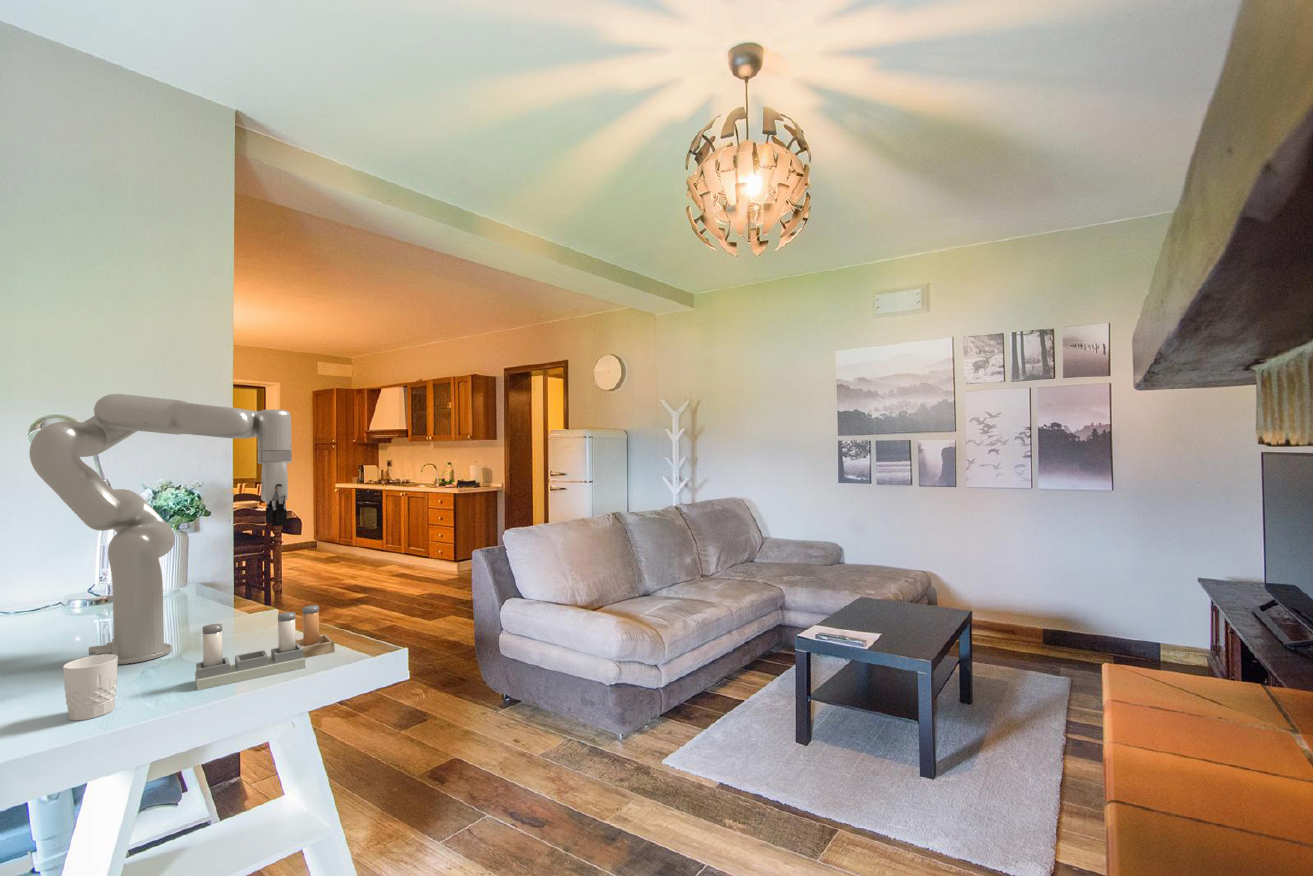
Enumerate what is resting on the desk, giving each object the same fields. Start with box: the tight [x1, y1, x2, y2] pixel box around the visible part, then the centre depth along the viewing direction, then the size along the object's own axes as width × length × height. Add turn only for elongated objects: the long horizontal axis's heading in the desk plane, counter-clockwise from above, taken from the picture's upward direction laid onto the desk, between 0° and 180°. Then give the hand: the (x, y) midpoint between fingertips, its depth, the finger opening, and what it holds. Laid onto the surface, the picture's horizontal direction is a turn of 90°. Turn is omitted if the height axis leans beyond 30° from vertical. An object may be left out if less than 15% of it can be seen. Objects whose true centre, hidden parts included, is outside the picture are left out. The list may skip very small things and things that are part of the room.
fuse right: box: [277, 611, 297, 653], centre depth 148 cm, size 4×4×10 cm
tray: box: [296, 633, 335, 659], centre depth 158 cm, size 8×8×2 cm
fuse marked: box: [302, 604, 320, 647], centre depth 158 cm, size 4×4×10 cm
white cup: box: [62, 654, 119, 721], centre depth 124 cm, size 8×8×10 cm
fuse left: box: [201, 623, 224, 668], centre depth 139 cm, size 4×4×10 cm
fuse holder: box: [194, 644, 306, 691], centre depth 143 cm, size 20×7×4 cm, turn 128°
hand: (276, 524), depth 167 cm, fingers open, 9 cm apart
